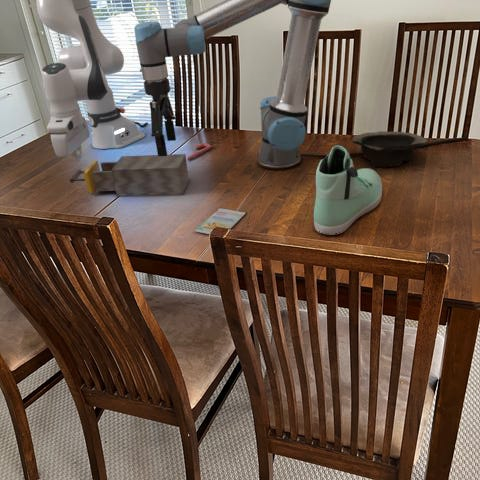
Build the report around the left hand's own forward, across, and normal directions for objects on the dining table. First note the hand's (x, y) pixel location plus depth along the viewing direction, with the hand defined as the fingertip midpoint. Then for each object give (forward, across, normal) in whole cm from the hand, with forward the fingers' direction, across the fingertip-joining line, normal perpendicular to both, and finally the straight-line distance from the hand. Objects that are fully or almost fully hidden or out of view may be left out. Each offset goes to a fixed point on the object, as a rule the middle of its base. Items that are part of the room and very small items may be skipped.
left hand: (78, 160), depth 158 cm
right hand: (-3, 0, +30) cm, 31 cm away
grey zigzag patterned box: (+11, 0, +24) cm, 26 cm away
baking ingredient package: (+11, +25, +49) cm, 56 cm away
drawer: (+10, 0, +10) cm, 14 cm away
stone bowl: (+11, -19, +103) cm, 105 cm away
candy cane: (+11, -30, +34) cm, 47 cm away
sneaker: (+11, +18, +86) cm, 88 cm away
